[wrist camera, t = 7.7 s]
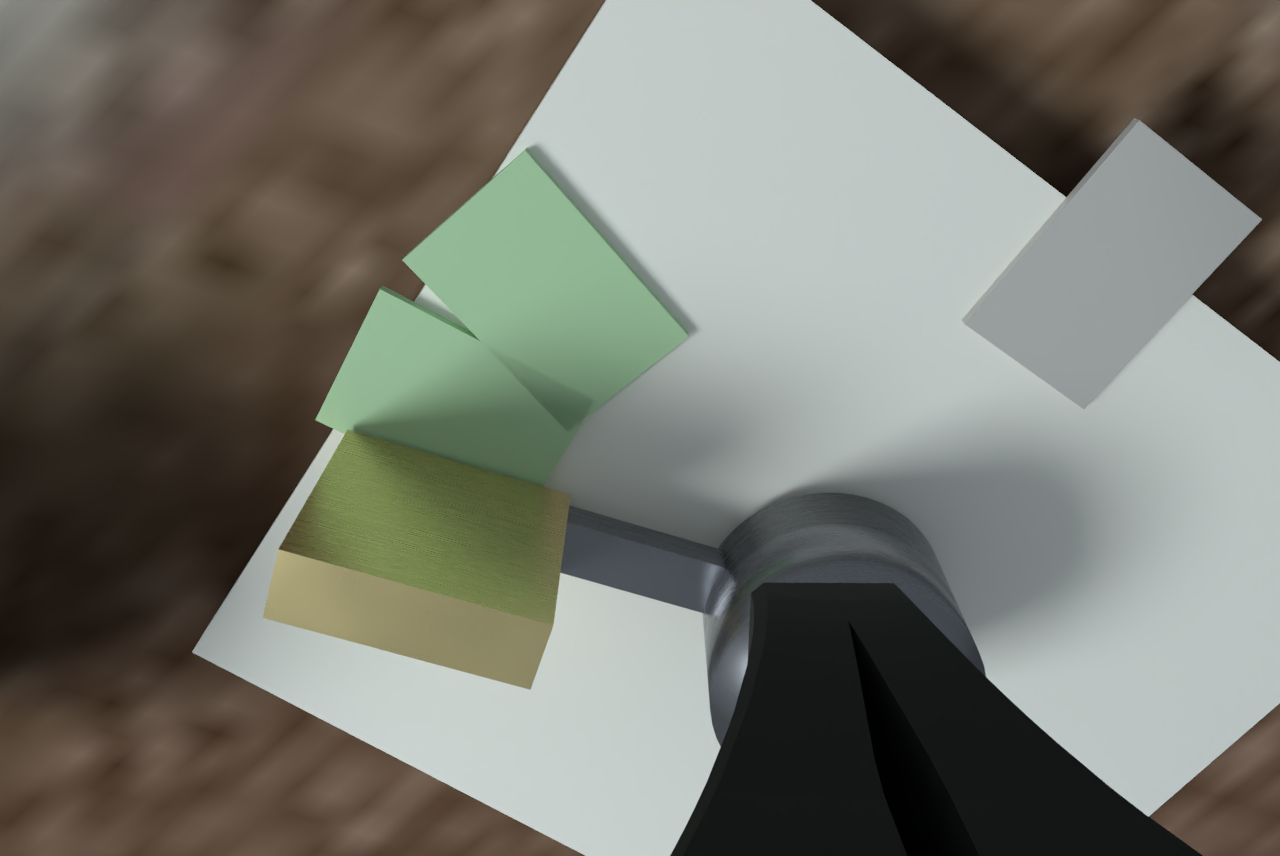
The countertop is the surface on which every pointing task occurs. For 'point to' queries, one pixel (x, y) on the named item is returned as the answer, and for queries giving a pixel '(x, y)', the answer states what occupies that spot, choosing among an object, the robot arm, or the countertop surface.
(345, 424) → the dial board
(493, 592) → the grey and tan piece
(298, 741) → the countertop surface
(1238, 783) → the countertop surface
